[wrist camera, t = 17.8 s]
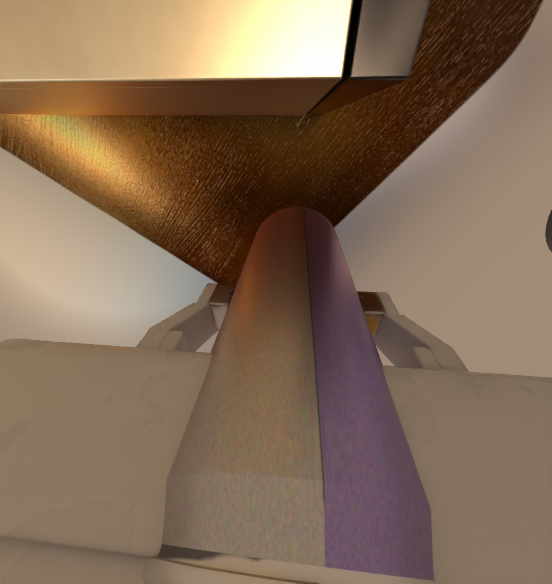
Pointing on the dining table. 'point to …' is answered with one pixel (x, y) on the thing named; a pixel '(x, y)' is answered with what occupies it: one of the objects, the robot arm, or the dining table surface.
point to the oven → (170, 56)
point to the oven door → (377, 49)
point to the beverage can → (294, 436)
